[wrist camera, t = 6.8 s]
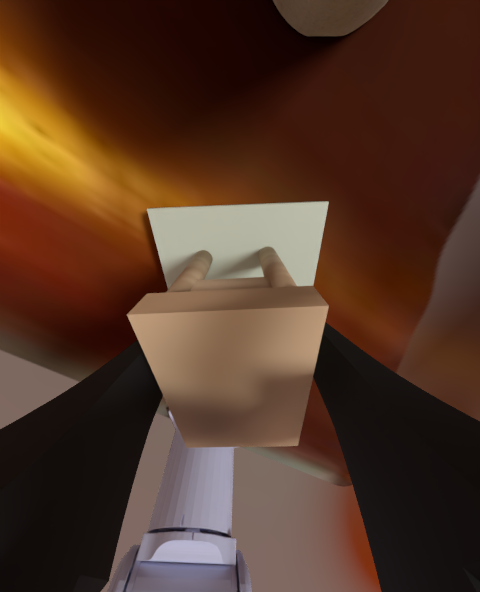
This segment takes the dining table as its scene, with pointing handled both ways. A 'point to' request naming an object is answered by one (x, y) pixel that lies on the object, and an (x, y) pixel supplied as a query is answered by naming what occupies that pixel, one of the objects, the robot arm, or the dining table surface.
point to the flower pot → (327, 15)
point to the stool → (233, 352)
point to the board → (240, 238)
